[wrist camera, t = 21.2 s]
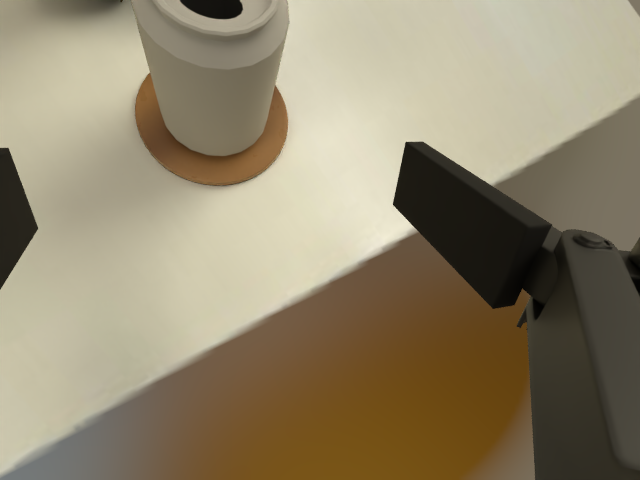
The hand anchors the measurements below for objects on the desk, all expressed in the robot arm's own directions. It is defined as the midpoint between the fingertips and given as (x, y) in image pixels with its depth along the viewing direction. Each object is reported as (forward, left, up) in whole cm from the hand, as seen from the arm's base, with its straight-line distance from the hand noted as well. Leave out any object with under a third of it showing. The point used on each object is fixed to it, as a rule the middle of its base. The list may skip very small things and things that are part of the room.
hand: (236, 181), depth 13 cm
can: (-8, +7, -14) cm, 17 cm away
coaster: (-8, +7, -14) cm, 18 cm away
